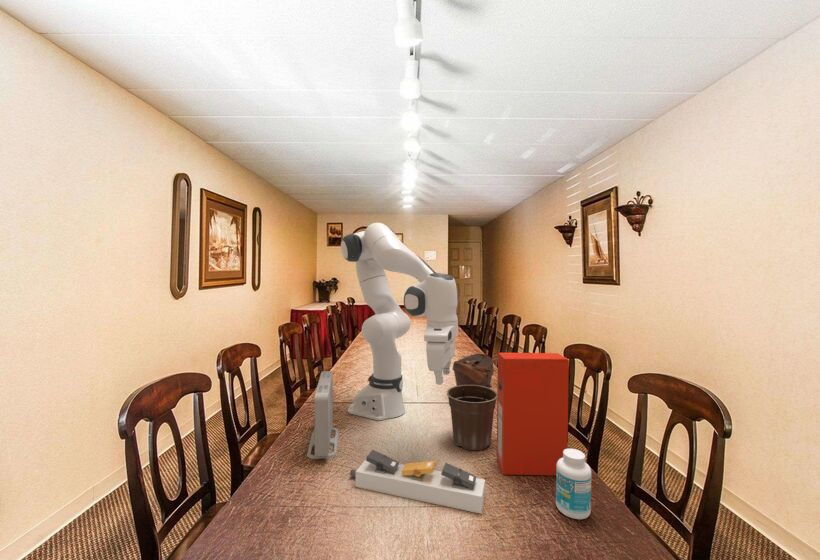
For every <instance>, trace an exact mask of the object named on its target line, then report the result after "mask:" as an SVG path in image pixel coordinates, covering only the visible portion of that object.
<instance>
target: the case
mask: <svg viewBox="0 0 820 560" xmlns="http://www.w3.org/2000/svg"><path fill="white" fill-rule="evenodd" d="M452 364H453V365H452V371H453V372H454V373H453V374H454V378H455V383H456V384H455V386H459V385H479V386H484V387H488V388H490V389H492V386H493V385H491V383H492V379H493V376H494V360H493V359H492V358H491V357H490V356H489V355H487V354H485V353H474V354H470V355H468V356H464V357H463V358H461V359H459V360H455V361H454V362H453V363H452Z"/></svg>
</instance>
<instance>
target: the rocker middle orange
mask: <svg viewBox="0 0 820 560" xmlns="http://www.w3.org/2000/svg"><path fill="white" fill-rule="evenodd" d="M404 465H405V466H404V468H403V469H402V475H403V476H404V475H414V476H416V477H420V476H421V474H428V473H433V471H434V470H436V466H437V463H436V460H428V461H427V460H426V461H418V462H417V461H416V462H406V463H405V464H404Z"/></svg>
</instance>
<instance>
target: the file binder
mask: <svg viewBox="0 0 820 560" xmlns="http://www.w3.org/2000/svg"><path fill="white" fill-rule="evenodd" d="M569 365H570V359H569V358H567V357H566V356H563V355H562V354H561V353H559V352H557V353H556V352H498V353H497V389H496V390H497V391H496V392H497V399H496V402H497V403H496V405H497V406H496V409H497V410H496V412H497V413H496V421H497V422H496V461H497V464H498V466H499V469H500V471H501V474H502V475H507V476H508V475H511V476H512V475H513V476H514V475H515V476H517V475H518V476H556V466H557V462H558V460H559V459H561V458H563V451H564V450H565V449H568V442H569V441H568V435H569V430H568V429H569V373H570V372H569V369H570V368H569V367H570V366H569Z"/></svg>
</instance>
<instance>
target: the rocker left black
mask: <svg viewBox="0 0 820 560" xmlns="http://www.w3.org/2000/svg"><path fill="white" fill-rule="evenodd" d="M365 460H366V461H368V462H370V463H372V464H374V465H376V467H377V469H379V470H382V469H385V470H387V471H389V472H391V473H393V474H394V472H395V471H396V469H397V468H398V466H399V464H400V461H398V460H396V459H393V458H391V457H390V456H388V455H385V454H383V453H381V452H379V451H376V450H374V449H372V450H371V451H370V452H369V453H368V455H367V456H366V458H365Z"/></svg>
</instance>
